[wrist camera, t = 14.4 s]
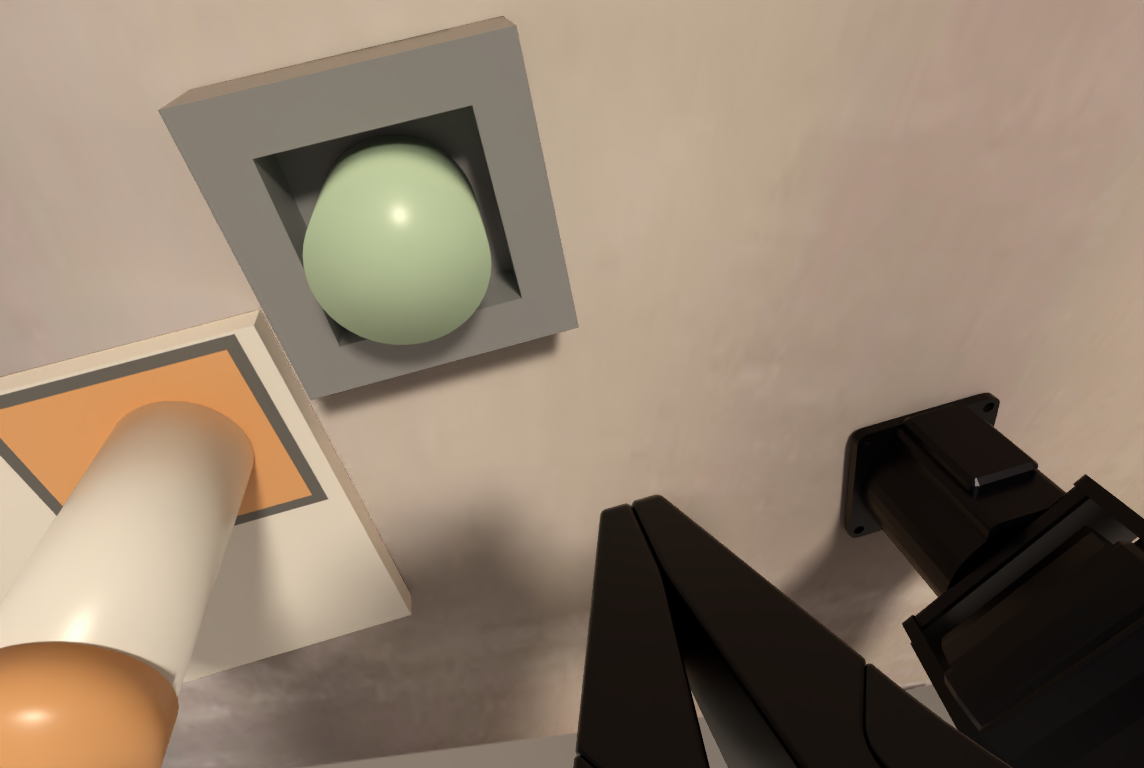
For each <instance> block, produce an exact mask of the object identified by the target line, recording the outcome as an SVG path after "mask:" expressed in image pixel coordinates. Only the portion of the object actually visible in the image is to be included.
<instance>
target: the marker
mask: <svg viewBox="0 0 1144 768" xmlns="http://www.w3.org/2000/svg"><path fill="white" fill-rule="evenodd" d="M253 463H254V453H253V448H252V445H251V443H250V441H249V439H248V437H247V435H246V434H245V433H244V431H243V430H242V429H241V428H240V427H239V426H238V425H237V424H236V423H235V422H233V421H232V420H231V419H230V418H228V417H227V416H225V415H223V414H222V413H220V412H218V411H216V410H214V409H211V408H208V407H206V406H203V405H199V404H195V403H190V402H183V401H162V402H154V403H150V404H146V405H143V406H140V407H138V408H136V409H134V410H132V411H130V412H129V413H127V414H126V415H125V416H123V417H122V418H121V419H120V420H119V422H118V423H117V424H116V426H115V427H114V429H113V430H112V432H111V433H110V435H109V436H108V438H107V439H106V441H105V442H104V444H103V446H102V447H101V449H100V450H99V452H98V453H97V455H96V456H95V458H94V459H93V461H92V463H91V464H90V466H89V467H88V469H87V470H86V472H85V473H84V475H83V476H82V478H81V480H80V481H79V483H78V484H77V486H76V487H75V489H74V490H73V492H72V494H71V495H70V497H69V498H68V500H67V501H66V503H65V504H64V506H63V507H62V509H61V511H60V512H59V514H58V515H57V517H56V518H55V520H54V521H53V523H52V524H51V526H50V528H49V529H48V531H47V532H46V534H45V535H44V537H43V538H42V540H41V541H40V543H39V545H38V546H37V548H36V549H35V551H34V552H33V554H32V555H31V557H30V558H29V560H28V562H27V563H26V565H25V566H24V568H23V569H22V571H21V572H20V574H19V575H18V577H17V579H16V580H15V582H14V583H13V585H12V586H11V588H10V589H9V591H8V592H7V594H6V596H5V597H4V599H3V600H2V602H1V603H0V768H161V765H162V762H163V759H164V756H165V753H166V750H167V747H168V743H169V740H170V737H171V734H172V731H173V728H174V725H175V721H176V718H177V715H178V709H179V704H178V696H179V693H180V690H181V687H182V684H183V681H184V678H185V674H186V671H187V668H188V665H189V662H190V659H191V656H192V653H193V650H194V647H195V644H196V641H197V638H198V634H199V631H200V628H201V625H202V622H203V619H204V616H205V613H206V610H207V607H208V604H209V601H210V597H211V594H212V591H213V588H214V585H215V582H216V579H217V576H218V573H219V570H220V567H221V564H222V561H223V557H224V554H225V551H226V548H227V545H228V542H229V539H230V536H231V533H232V530H233V527H234V524H235V521H236V517H237V514H238V511H239V508H240V505H241V502H242V499H243V496H244V493H245V490H246V487H247V484H248V481H249V477H250V474H251V471H252V468H253Z"/></svg>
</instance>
